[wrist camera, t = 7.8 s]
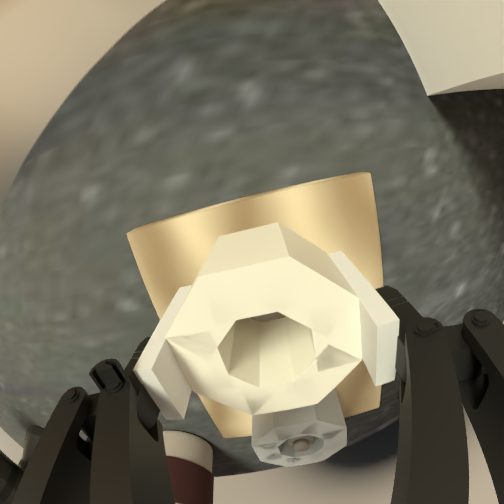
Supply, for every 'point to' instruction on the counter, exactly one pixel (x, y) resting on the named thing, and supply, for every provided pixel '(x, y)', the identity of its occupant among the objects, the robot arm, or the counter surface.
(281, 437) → the seated gear
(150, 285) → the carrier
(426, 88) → the milk
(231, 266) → the white octagonal block
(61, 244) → the counter surface
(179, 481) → the coffee cup
